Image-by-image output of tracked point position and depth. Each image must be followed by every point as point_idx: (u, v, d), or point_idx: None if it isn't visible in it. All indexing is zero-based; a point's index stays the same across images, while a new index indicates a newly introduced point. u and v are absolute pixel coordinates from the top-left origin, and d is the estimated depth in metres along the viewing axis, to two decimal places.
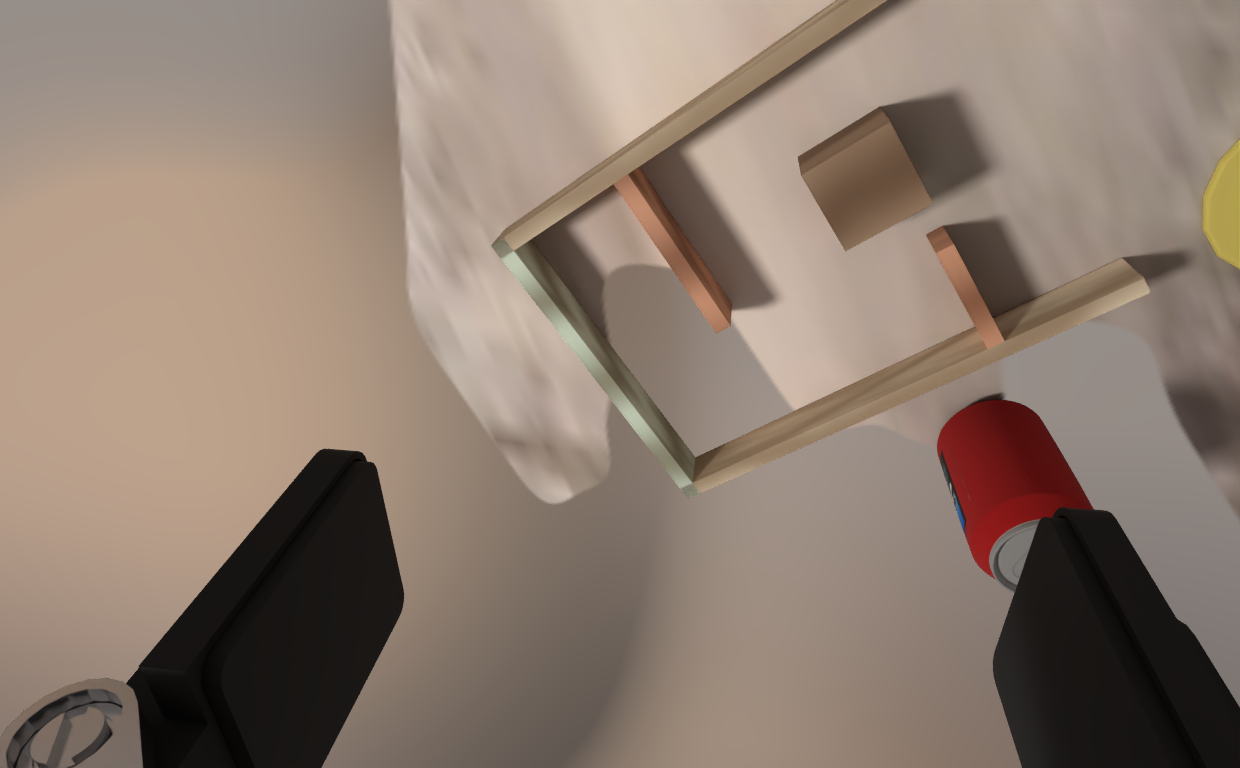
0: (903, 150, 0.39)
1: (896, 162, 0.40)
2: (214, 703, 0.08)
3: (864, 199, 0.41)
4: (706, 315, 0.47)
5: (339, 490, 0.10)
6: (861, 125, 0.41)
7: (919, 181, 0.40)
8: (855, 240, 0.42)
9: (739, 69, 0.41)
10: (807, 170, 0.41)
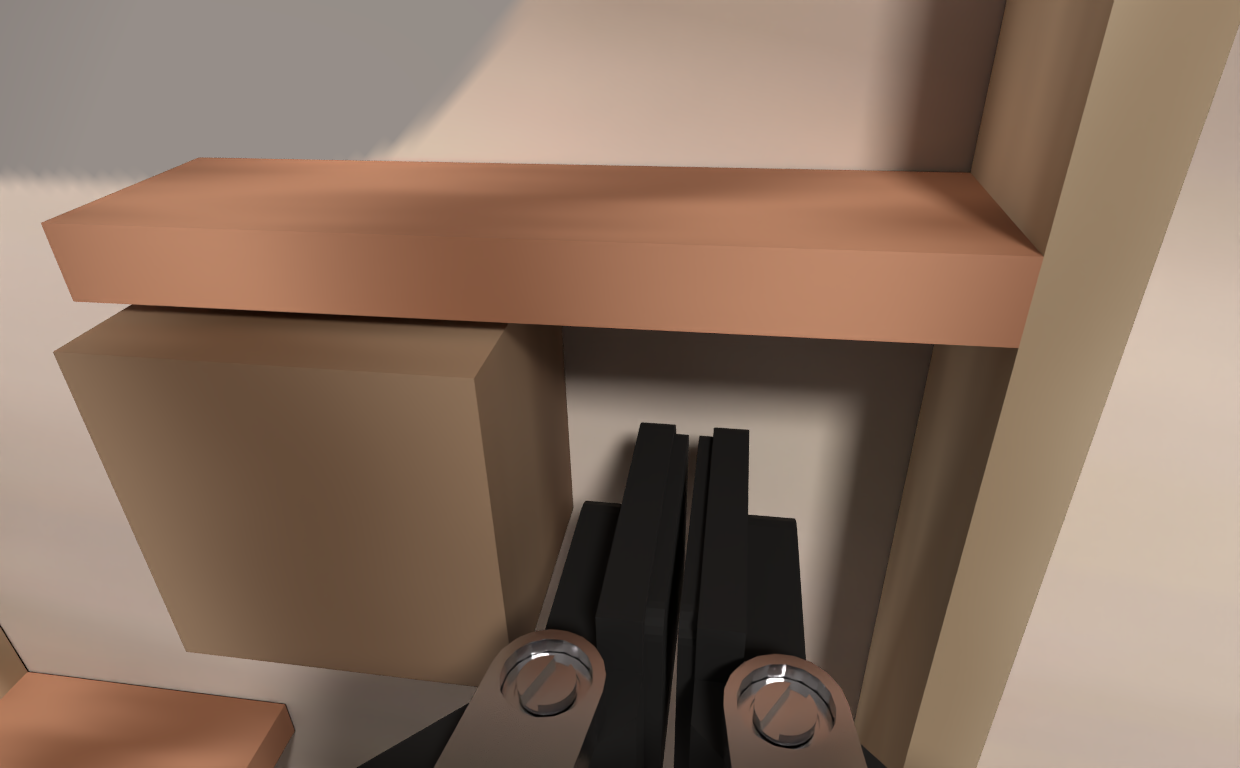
0: (400, 673, 0.11)
1: (368, 643, 0.11)
2: (649, 654, 0.08)
3: (268, 513, 0.10)
4: (148, 236, 0.09)
5: (677, 460, 0.11)
6: (549, 508, 0.12)
7: (275, 658, 0.11)
8: (98, 406, 0.09)
9: None
10: (483, 399, 0.08)
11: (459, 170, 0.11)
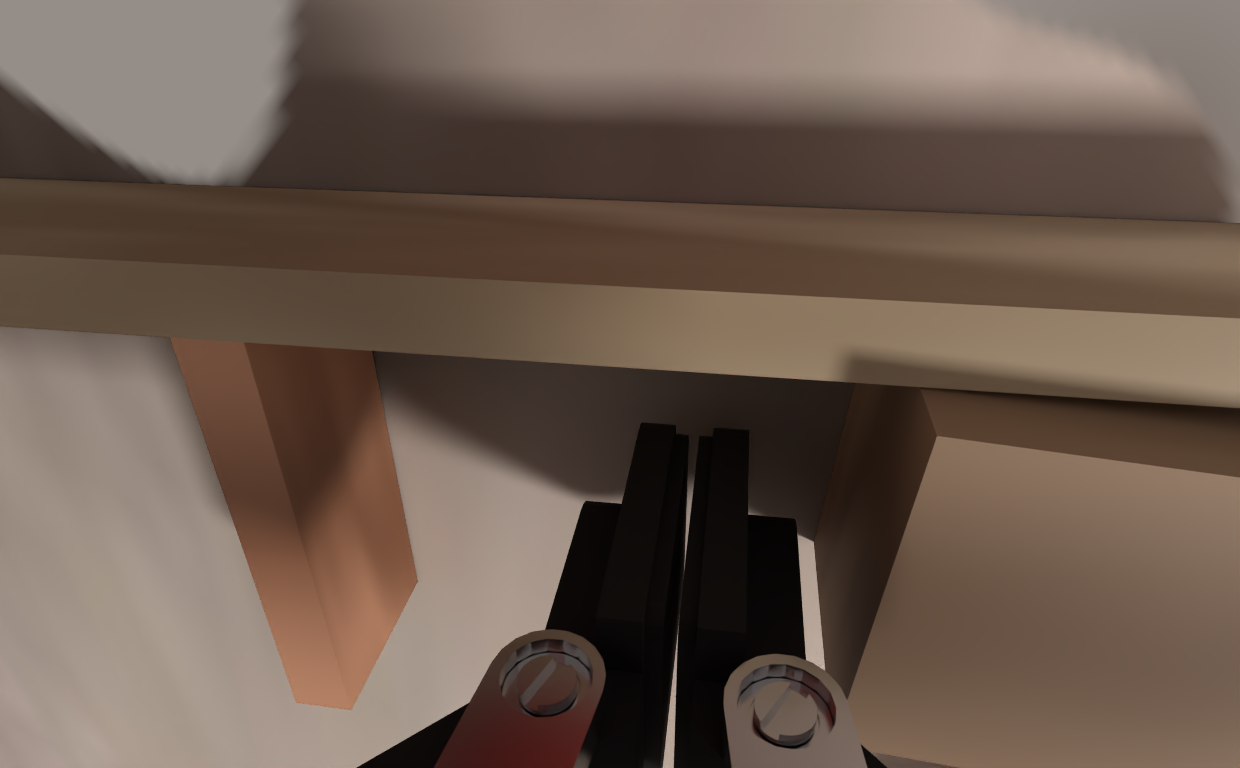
0: (867, 662, 0.09)
1: (921, 650, 0.09)
2: (648, 654, 0.08)
3: (1152, 628, 0.08)
4: None
5: (677, 460, 0.11)
6: None
7: (908, 547, 0.08)
8: None
9: None
10: None
11: None
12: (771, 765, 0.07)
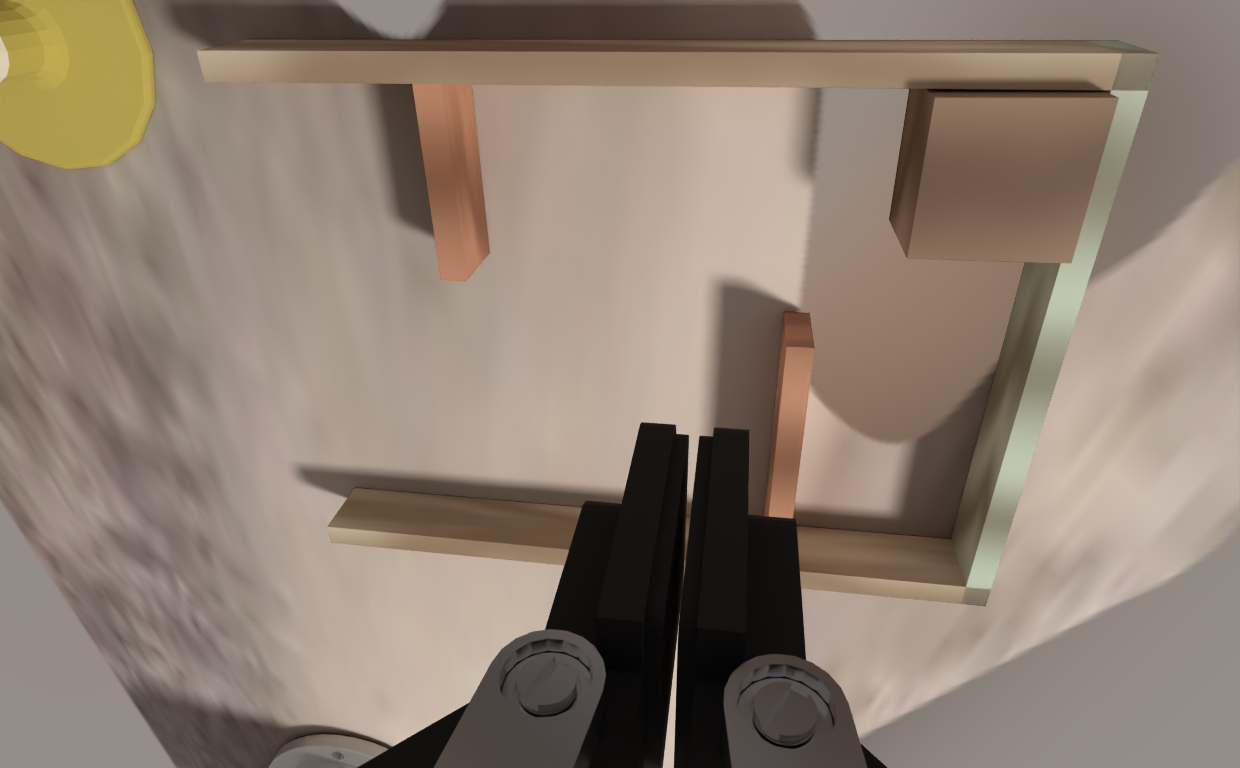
0: (918, 209, 0.24)
1: (938, 198, 0.24)
2: (648, 654, 0.08)
3: (1020, 169, 0.23)
4: (807, 379, 0.29)
5: (677, 460, 0.11)
6: None
7: (929, 148, 0.23)
8: (1088, 108, 0.22)
9: None
10: None
11: None
12: (771, 765, 0.07)
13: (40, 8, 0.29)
